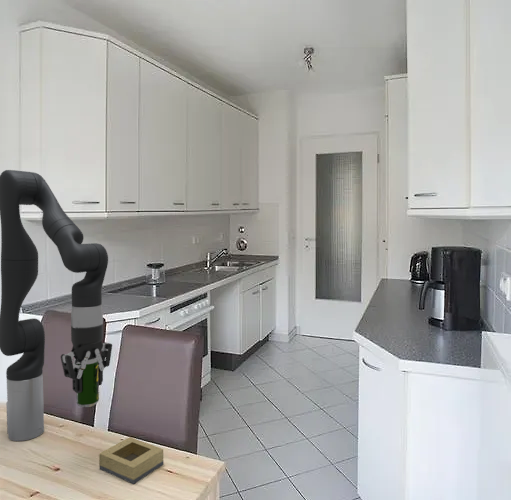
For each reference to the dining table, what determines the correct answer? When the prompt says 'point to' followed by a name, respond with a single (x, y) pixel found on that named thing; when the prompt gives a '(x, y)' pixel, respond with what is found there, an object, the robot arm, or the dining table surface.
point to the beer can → (89, 384)
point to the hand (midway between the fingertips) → (88, 388)
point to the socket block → (131, 460)
